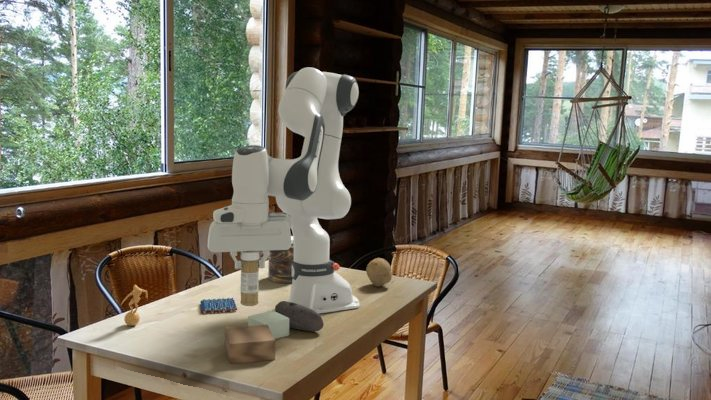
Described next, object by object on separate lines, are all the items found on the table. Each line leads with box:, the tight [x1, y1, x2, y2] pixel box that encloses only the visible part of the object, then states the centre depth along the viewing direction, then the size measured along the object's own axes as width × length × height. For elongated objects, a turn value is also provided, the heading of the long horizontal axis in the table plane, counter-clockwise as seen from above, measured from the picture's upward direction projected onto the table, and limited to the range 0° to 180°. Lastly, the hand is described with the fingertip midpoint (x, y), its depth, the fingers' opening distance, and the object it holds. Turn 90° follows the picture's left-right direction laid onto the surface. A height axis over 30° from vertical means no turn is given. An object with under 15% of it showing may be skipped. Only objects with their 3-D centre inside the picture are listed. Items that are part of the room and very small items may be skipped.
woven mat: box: [200, 297, 238, 315], centre depth 193 cm, size 10×11×2 cm
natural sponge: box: [365, 257, 393, 288], centre depth 220 cm, size 9×9×10 cm
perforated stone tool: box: [274, 300, 324, 332], centre depth 177 cm, size 15×5×7 cm, turn 61°
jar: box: [267, 235, 294, 284], centre depth 225 cm, size 12×12×15 cm
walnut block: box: [224, 325, 276, 365], centre depth 159 cm, size 11×11×5 cm
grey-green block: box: [247, 310, 290, 340], centre depth 172 cm, size 8×8×5 cm
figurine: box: [120, 284, 149, 327], centre depth 174 cm, size 8×6×12 cm
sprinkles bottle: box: [240, 251, 260, 307], centre depth 156 cm, size 5×5×14 cm
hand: (249, 268), depth 156 cm, fingers closed on sprinkles bottle, 4 cm apart
